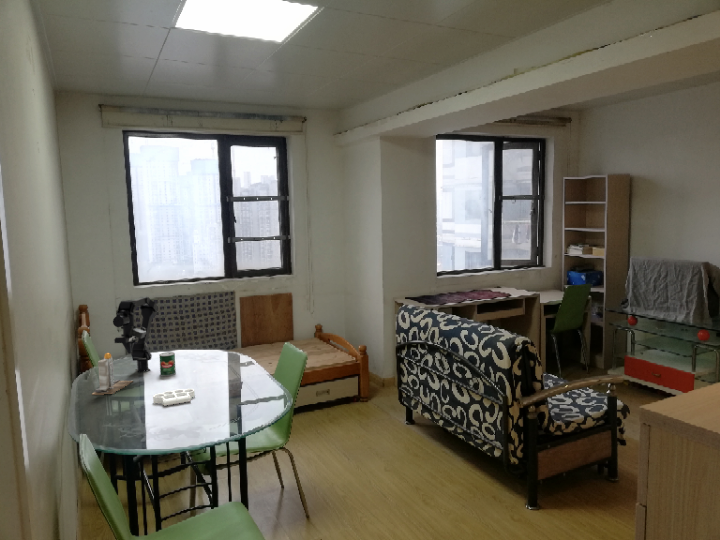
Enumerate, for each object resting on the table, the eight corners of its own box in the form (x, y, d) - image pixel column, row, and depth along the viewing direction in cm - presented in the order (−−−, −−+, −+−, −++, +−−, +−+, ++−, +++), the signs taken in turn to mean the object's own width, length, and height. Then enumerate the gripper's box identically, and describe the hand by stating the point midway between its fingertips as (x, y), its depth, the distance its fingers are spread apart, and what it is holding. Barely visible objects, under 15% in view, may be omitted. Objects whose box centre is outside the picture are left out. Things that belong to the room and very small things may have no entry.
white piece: (156, 409, 229) (152, 399, 242) (198, 402, 238) (192, 393, 251) (155, 401, 229) (151, 392, 242) (198, 394, 237) (191, 386, 250)
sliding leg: (104, 385, 260) (101, 352, 258) (115, 385, 259) (112, 351, 258) (99, 388, 256) (97, 354, 254) (110, 388, 255) (108, 353, 254)
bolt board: (114, 382, 271) (112, 351, 270) (133, 381, 270) (131, 351, 269) (92, 394, 251) (89, 362, 249) (112, 394, 250) (110, 361, 249)
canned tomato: (163, 376, 279) (162, 356, 278) (158, 373, 285) (156, 354, 284) (178, 373, 284) (177, 353, 283) (172, 370, 290) (171, 351, 289)
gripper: (133, 326, 267) (135, 357, 267) (151, 321, 285) (152, 349, 286) (113, 327, 268) (114, 357, 268) (132, 321, 286) (133, 349, 287)
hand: (129, 353), depth 277 cm, fingers closed
